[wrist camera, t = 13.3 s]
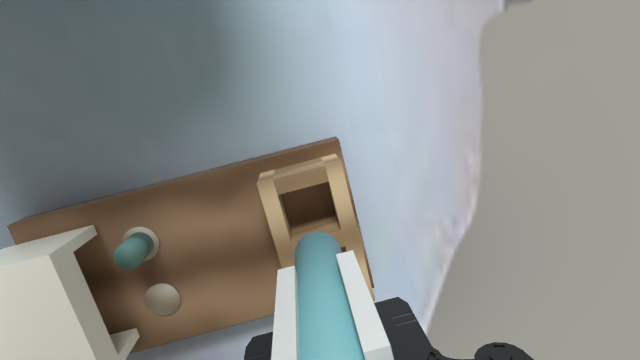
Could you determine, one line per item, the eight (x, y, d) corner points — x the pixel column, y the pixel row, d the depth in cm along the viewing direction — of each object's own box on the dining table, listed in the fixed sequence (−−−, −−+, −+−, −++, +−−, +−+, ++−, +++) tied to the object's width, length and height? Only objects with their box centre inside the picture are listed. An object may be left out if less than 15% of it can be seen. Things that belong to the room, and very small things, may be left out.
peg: (288, 238, 20) (284, 435, 9) (334, 226, 20) (392, 405, 9) (301, 280, 21) (312, 518, 9) (345, 268, 21) (414, 490, 9)
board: (24, 217, 31) (-30, 243, 26) (335, 136, 32) (344, 145, 26) (86, 352, 34) (48, 400, 29) (369, 276, 35) (383, 310, 29)
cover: (3, 248, 29) (-63, 284, 24) (93, 224, 29) (48, 254, 24) (56, 358, 32) (7, 414, 26) (139, 336, 32) (108, 386, 26)
